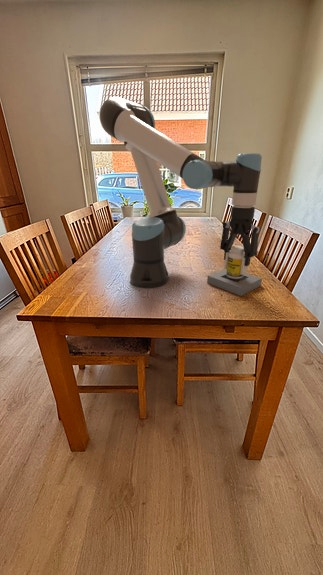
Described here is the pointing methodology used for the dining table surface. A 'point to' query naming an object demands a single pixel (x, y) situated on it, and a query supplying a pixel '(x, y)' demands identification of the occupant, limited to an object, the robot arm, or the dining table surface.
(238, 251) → the pill bottle
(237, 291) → the bottle holder
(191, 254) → the dining table surface
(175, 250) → the dining table surface
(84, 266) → the dining table surface
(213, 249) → the dining table surface
